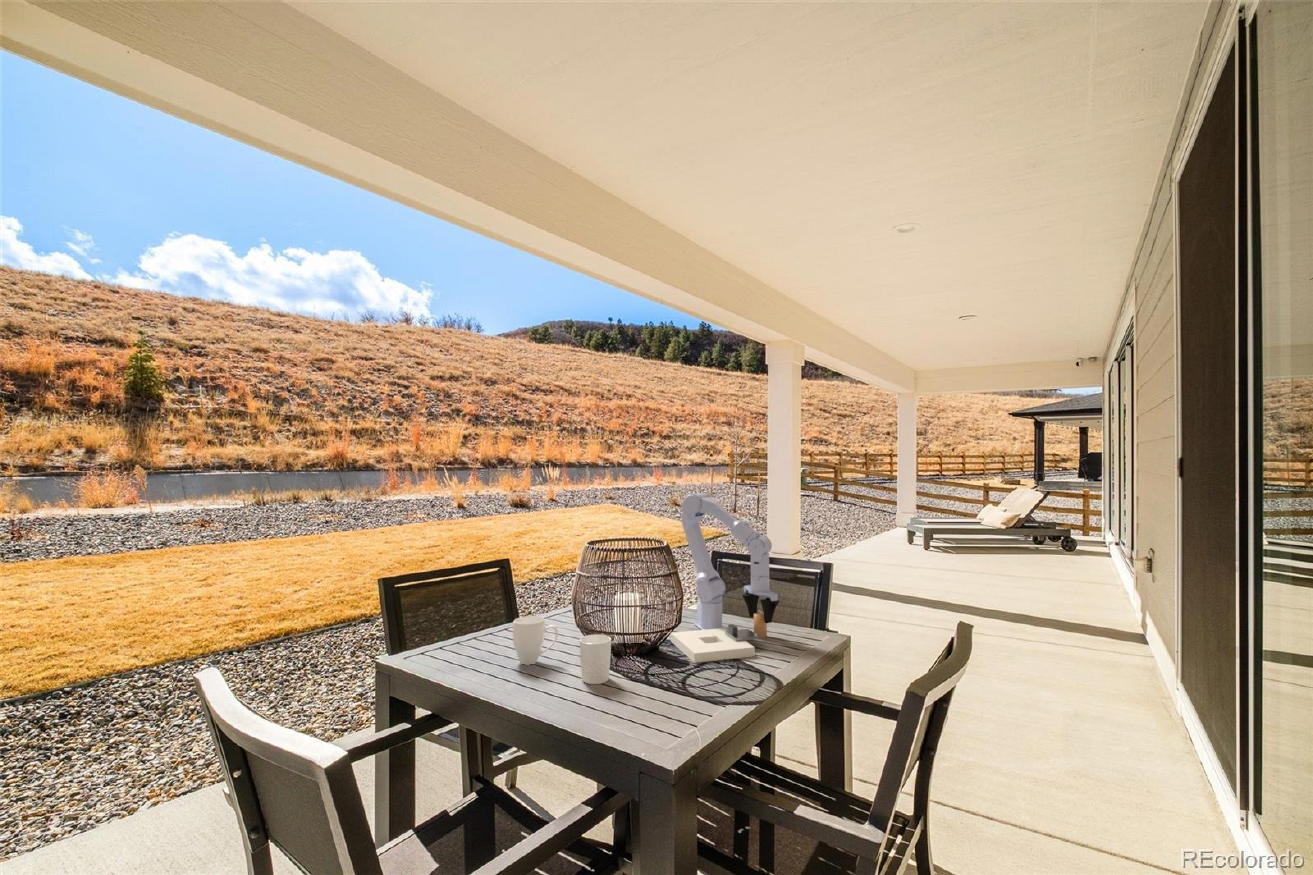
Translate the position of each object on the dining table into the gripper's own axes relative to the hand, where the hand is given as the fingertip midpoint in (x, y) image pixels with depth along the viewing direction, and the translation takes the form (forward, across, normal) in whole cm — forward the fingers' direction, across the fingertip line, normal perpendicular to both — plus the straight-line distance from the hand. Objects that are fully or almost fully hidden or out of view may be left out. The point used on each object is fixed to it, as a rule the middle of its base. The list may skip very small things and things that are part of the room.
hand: (760, 619), depth 184 cm
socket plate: (+5, +2, -20) cm, 21 cm away
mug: (+5, -9, -68) cm, 69 cm away
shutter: (+3, +4, -10) cm, 11 cm away
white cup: (+5, +10, -59) cm, 60 cm away
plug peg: (+5, 0, 0) cm, 5 cm away
